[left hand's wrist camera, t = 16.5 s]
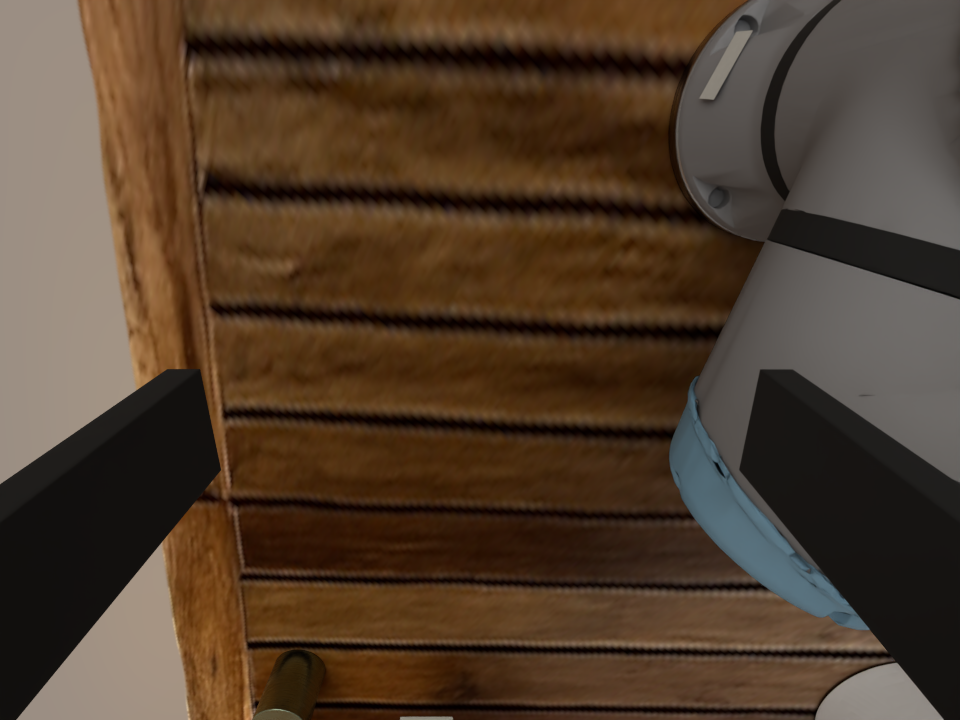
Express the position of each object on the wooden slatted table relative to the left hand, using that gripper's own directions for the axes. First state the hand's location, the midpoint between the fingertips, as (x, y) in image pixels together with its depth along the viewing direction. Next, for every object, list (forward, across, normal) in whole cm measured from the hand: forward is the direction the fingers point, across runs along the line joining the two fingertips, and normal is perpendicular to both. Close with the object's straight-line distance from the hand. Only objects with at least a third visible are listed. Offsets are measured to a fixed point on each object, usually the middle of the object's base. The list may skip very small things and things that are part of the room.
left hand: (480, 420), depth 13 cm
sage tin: (+27, +18, +42) cm, 53 cm away
